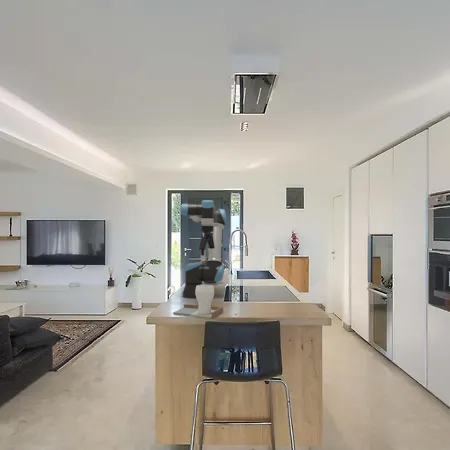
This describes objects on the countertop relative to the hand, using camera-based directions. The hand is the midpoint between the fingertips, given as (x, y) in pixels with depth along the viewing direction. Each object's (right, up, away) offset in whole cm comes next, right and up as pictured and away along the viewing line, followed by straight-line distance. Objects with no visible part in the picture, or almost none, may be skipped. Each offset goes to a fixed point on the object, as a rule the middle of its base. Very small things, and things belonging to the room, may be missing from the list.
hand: (207, 259), depth 264 cm
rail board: (-4, -29, -20) cm, 36 cm away
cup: (0, -28, -24) cm, 37 cm away
